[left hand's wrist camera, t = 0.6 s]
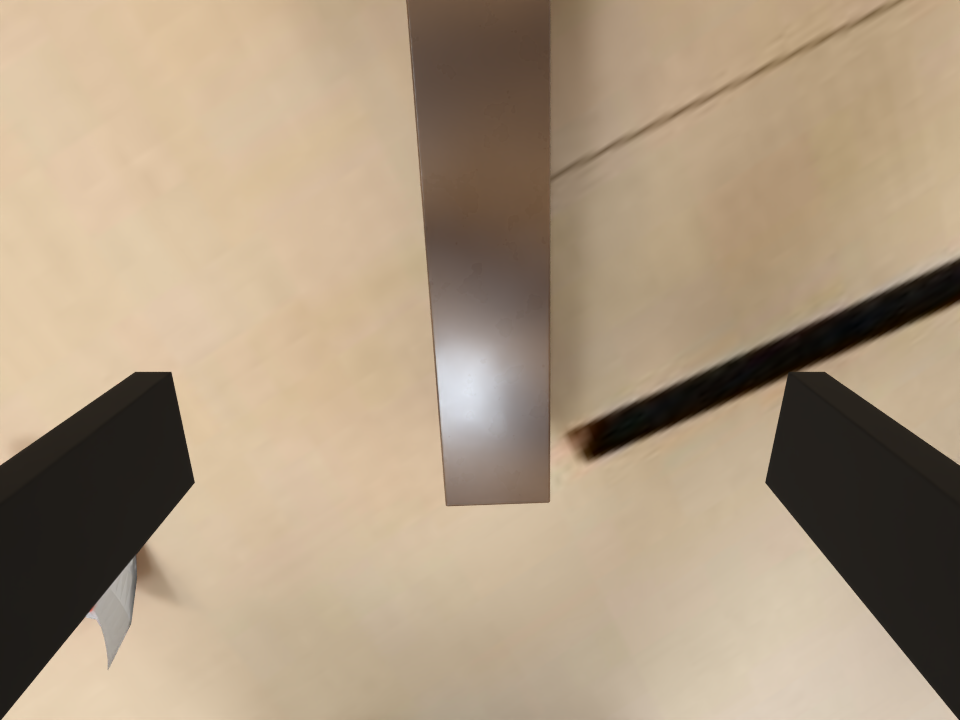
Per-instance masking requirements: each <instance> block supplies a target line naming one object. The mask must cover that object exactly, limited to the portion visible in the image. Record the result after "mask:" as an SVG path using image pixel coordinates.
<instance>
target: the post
mask: <svg viewBox="0 0 960 720" xmlns="http://www.w3.org/2000/svg"><path fill="white" fill-rule="evenodd" d="M406 3H407V16H408V28H409V41H410V54H411V67H412V79H413V92H414V105H415V118H416V131H417V143H418V156H419V169H420V182H421V194H422V207H423V220H424V233H425V246H426V258H427V271H428V284H429V297H430V309H431V322H432V335H433V348H434V361H435V373H436V386H437V399H438V412H439V424H440V437H441V450H442V463H443V476H444V488H445V501H446V506H467V505H494V504H522V503H548V502H550V0H406Z"/></svg>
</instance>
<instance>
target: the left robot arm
mask: <svg viewBox="0 0 960 720" xmlns="http://www.w3.org/2000/svg"><path fill="white" fill-rule="evenodd" d="M194 483H195V482H194V477H193V472H192V467H191V463H190V458H189V453H188V449H187V444H186V439H185V434H184V430H183V425H182V420H181V415H180V411H179V406H178V401H177V396H176V392H175V387H174V382H173V377H172V373H171V372H135V373H133V374H132V375H130V376H129V377H127V378H126V379H124V380H123V381H122V382H120V383H119V384H117V385H116V386H114V387H113V388H111V389H110V390H109V391H107V392H106V393H104V394H103V395H101V396H100V397H98V398H97V399H96V400H94V401H93V402H91V403H90V404H88V405H87V406H86V407H84V408H83V409H81V410H80V411H78V412H77V413H75V414H74V415H73V416H71V417H70V418H68V419H67V420H65V421H64V422H62V423H61V424H60V425H58V426H57V427H55V428H54V429H52V430H51V431H49V432H48V433H47V434H45V435H44V436H42V437H41V438H39V439H38V440H36V441H35V442H34V443H32V444H31V445H29V446H28V447H26V448H25V449H23V450H22V451H21V452H19V453H18V454H16V455H15V456H13V457H12V458H10V459H9V460H8V461H6V462H5V463H3V464H2V465H0V720H1V719H2V718H3V717H4V716H5V714H6V713H7V712H8V711H9V710H10V708H11V707H12V706H13V705H14V703H15V702H16V701H17V700H18V699H19V697H20V696H21V695H22V694H23V692H24V691H25V690H26V689H27V688H28V686H29V685H30V684H31V683H32V681H33V680H34V679H35V678H36V677H37V675H38V674H39V673H40V672H41V670H42V669H43V668H44V667H45V665H46V664H47V663H48V662H49V661H50V659H51V658H52V657H53V656H54V654H55V653H56V652H57V651H58V650H59V648H60V647H61V646H62V645H63V643H64V642H65V641H66V640H67V639H68V637H69V636H70V635H71V634H72V632H73V631H74V630H75V629H76V627H77V626H78V625H79V624H80V623H81V621H82V620H83V619H84V618H85V616H86V615H87V614H88V613H89V612H90V610H91V609H92V608H93V607H94V605H95V604H96V603H97V602H98V601H99V599H100V598H101V597H102V596H103V594H104V593H105V592H106V591H107V590H108V588H109V587H110V586H111V585H112V583H113V582H114V581H115V580H116V578H117V577H118V576H119V575H120V574H121V572H122V571H123V570H124V569H125V567H126V566H127V565H128V564H129V563H130V561H131V560H132V559H133V558H134V556H135V555H136V554H137V553H138V552H139V550H140V549H141V548H142V547H143V545H144V544H145V543H146V542H147V541H148V539H149V538H150V537H151V536H152V534H153V533H154V532H155V531H156V529H157V528H158V527H159V526H160V525H161V523H162V522H163V521H164V520H165V518H166V517H167V516H168V515H169V514H170V512H171V511H172V510H173V509H174V507H175V506H176V505H177V504H178V503H179V501H180V500H181V499H182V498H183V496H184V495H185V494H186V493H187V491H188V490H189V489H190V488H191V487H192V485H193V484H194ZM765 483H766V484H767V485H768V487H769V488H770V489H771V490H772V491H773V493H774V494H775V495H776V496H777V498H778V499H779V500H780V501H781V503H782V504H783V505H784V506H785V507H786V509H787V510H788V511H789V512H790V514H791V515H792V516H793V517H794V518H795V520H796V521H797V522H798V523H799V525H800V526H801V527H802V528H803V529H804V531H805V532H806V533H807V534H808V536H809V537H810V538H811V539H812V541H813V542H814V543H815V544H816V545H817V547H818V548H819V549H820V550H821V552H822V553H823V554H824V555H825V556H826V558H827V559H828V560H829V561H830V563H831V564H832V565H833V566H834V567H835V569H836V570H837V571H838V572H839V574H840V575H841V576H842V577H843V578H844V580H845V581H846V582H847V583H848V585H849V586H850V587H851V588H852V590H853V591H854V592H855V593H856V594H857V596H858V597H859V598H860V599H861V601H862V602H863V603H864V604H865V605H866V607H867V608H868V609H869V610H870V612H871V613H872V614H873V615H874V616H875V618H876V619H877V620H878V621H879V623H880V624H881V625H882V626H883V627H884V629H885V630H886V631H887V632H888V634H889V635H890V636H891V637H892V639H893V640H894V641H895V642H896V643H897V645H898V646H899V647H900V648H901V650H902V651H903V652H904V653H905V654H906V656H907V657H908V658H909V659H910V661H911V662H912V663H913V664H914V665H915V667H916V668H917V669H918V670H919V672H920V673H921V674H922V675H923V677H924V678H925V679H926V680H927V681H928V683H929V684H930V685H931V686H932V688H933V689H934V690H935V691H936V692H937V694H938V695H939V696H940V697H941V699H942V700H943V701H944V702H945V703H946V705H947V706H948V707H949V708H950V710H951V711H952V712H953V713H954V714H955V716H956V717H957V718H958V719H959V720H960V465H958V464H957V463H955V462H954V461H952V460H951V459H950V458H948V457H947V456H945V455H944V454H942V453H941V452H939V451H938V450H937V449H935V448H934V447H932V446H931V445H929V444H928V443H926V442H925V441H924V440H922V439H921V438H919V437H918V436H916V435H915V434H913V433H912V432H911V431H909V430H908V429H906V428H905V427H903V426H902V425H900V424H899V423H898V422H896V421H895V420H893V419H892V418H890V417H889V416H887V415H886V414H885V413H883V412H882V411H880V410H879V409H877V408H876V407H874V406H873V405H872V404H870V403H869V402H867V401H866V400H864V399H863V398H862V397H860V396H859V395H857V394H856V393H854V392H853V391H851V390H850V389H849V388H847V387H846V386H844V385H843V384H841V383H840V382H838V381H837V380H836V379H834V378H833V377H831V376H830V375H828V374H827V373H825V372H789V373H788V377H787V382H786V387H785V392H784V396H783V401H782V406H781V411H780V415H779V420H778V425H777V430H776V434H775V439H774V444H773V449H772V453H771V458H770V463H769V467H768V472H767V477H766V482H765Z"/></svg>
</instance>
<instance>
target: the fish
mask: <svg viewBox="0 0 960 720" xmlns="http://www.w3.org/2000/svg"><path fill="white" fill-rule="evenodd" d="M136 581H137V568H136V555H135V556H134V558H133V559H132V560H131V561H130V563H129V564H128V565H127V566H126V567H125V569H124V570H123V571H122V572H121V574H120V575H119V576H118V577H117V578H116V580H115V581H114V582H113V583H112V585H111V586H110V587H109V588H108V590H107V591H106V592H105V593H104V594H103V596H102V597H101V598H100V599H99V601H98V602H97V603H96V604H95V605H94V607H93V608H92V609H91V610H90V612H89V613H88V614H87V615H86V616H85V617H87V618H92V619H96V620H97V622H98V623H99V625H100V626H101V628H102V632H103V635H104V639H105V644H106V649H107V657H108V669H109V667H110V665H111V663H112V661H113V659H114V657H115V655H116V653H117V651H118V649H119V647H120V645H121V643H122V641H123V639H124V637H125V635H126V633H127V631H128V629H129V627H130V625H131V621H132V613H133V605H134V597H135V589H136Z"/></svg>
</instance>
